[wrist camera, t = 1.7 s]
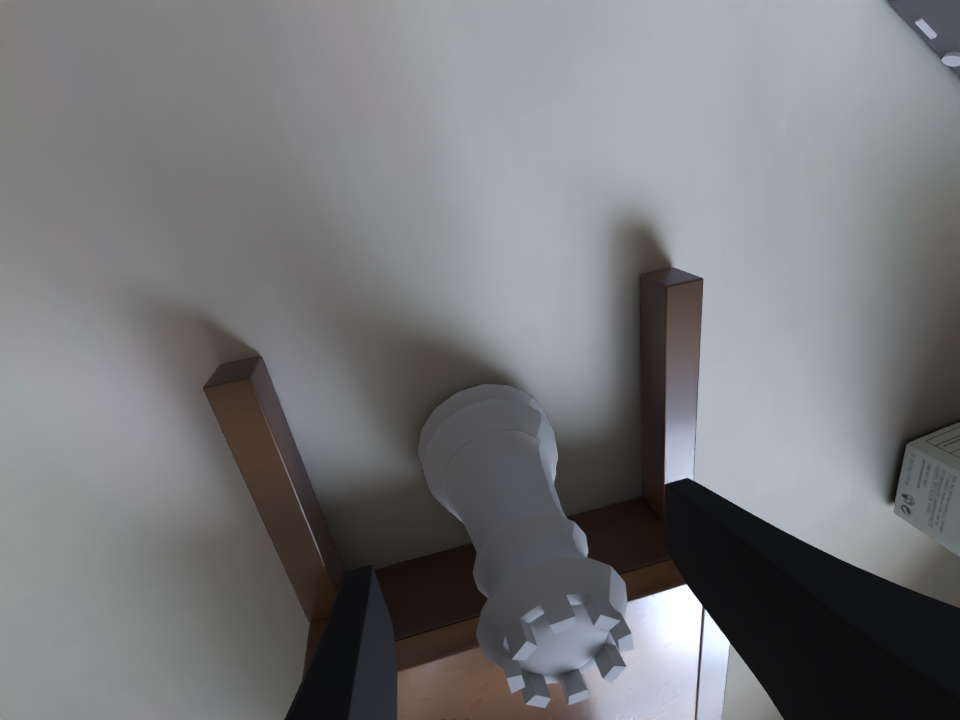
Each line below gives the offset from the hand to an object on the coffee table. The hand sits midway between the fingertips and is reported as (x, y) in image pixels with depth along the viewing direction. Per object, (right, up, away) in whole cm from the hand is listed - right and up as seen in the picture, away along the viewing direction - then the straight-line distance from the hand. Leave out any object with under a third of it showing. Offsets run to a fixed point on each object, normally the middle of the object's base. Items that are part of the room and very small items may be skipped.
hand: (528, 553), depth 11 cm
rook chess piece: (-1, +2, +5) cm, 6 cm away
